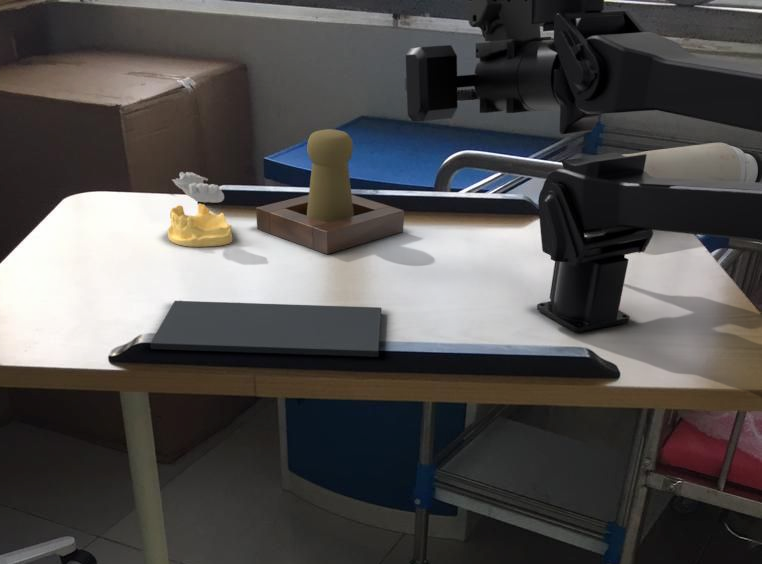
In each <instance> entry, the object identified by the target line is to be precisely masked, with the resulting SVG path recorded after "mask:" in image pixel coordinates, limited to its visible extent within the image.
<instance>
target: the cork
mask: <svg viewBox="0 0 762 564" xmlns="http://www.w3.org/2000/svg"><path fill="white" fill-rule="evenodd" d="M306 149H307V150H306V152H307V155H308V158H309V160H310V161H311V171H310V172H311V173H310V181H309V190H308V195H309V198H308V208H307V216H309V217H312V218H315V219H318V220H321V221H324V222H327V223H330V222H334V221H338V220H341V219H345V218H349V217H352V216H354V213H353V204H352V195H353V194H352V187H351V177H350V171H349V170H350V169H349V162H350V160H352V159H351V158H352V155H353V151H354V144H353V139H352V138H351V135H350V134H348V133H347V132H346V131H343V130H339V129H332V128H329V129H328V128H327V129H326V128H325V129H321V130H316V131H314V132H312V133H311V134H310V136H309V138H308V140H307V144H306Z"/></svg>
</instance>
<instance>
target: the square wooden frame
mask: <svg viewBox="0 0 762 564" xmlns="http://www.w3.org/2000/svg"><path fill="white" fill-rule="evenodd" d="M351 195H352V204H353V213H354V216H352V217H349V218H345V219H341V220H338V221H334V222H330V223H327V222H324V221H321V220H318V219H315V218H312V217H309V216H307V208H308V198H309V194H307V195H302V196H298V197H294V198H290V199H287V200H286V199H285V200H282V201H278V202H274V203H269V204H265V205H261V206H257V207H256V208H255V212H256V213H255V215H256V229H257V230H260V231H261V232H265V233H268V234H270V235H273V236H276V237H279V238H281V239H284V240H287V241H290V242H292V243H295V244H298V245H301V246H304V247H306V248H309V249H312V250H314V251H317V252H320V253H323V254H325V255H330V254H333V253H335V252H339V251H343V250H346V249H349V248H353V247H357V246H360V245H363V244H367V243H369V242H373V241H377V240H380V239H383V238H387V237H389V236H394V235H397V234H400V233H403V232H404V225H405V222H404V221H405V210H403V209H400V208H398V207H394V206H390V205H388V204H385V203H381V202H377V201H375V200H371V199H367V198H365V197H360V196H359V195H358V196H357V195H354V194H351Z"/></svg>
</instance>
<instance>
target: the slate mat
mask: <svg viewBox="0 0 762 564" xmlns="http://www.w3.org/2000/svg"><path fill="white" fill-rule="evenodd" d="M381 323H382V307H378V306H377V307H373V306H349V305H348V306H347V305H316V304H313V305H312V304H290V303H289V304H286V303H285V304H284V303H283V304H282V303H256V302H254V303H253V302H230V301H229V302H226V301H199V300H198V301H197V300H195V301H194V300H174V301H173V303H172V304H171V307H170V308H169V310H168V312H167V313H166V315H165V317H164V318H163V320H162V322H161V324H160V326H159V328H158V329H157V331H156V333H155V335H154V336H153V337H152V339H151V341H150V344H149V345H150V348H151V350H166V351H192V352H193V351H194V352H223V353H250V354H251V353H253V354H280V355H281V354H283V355H307V356H309V355H311V356H336V357H337V356H338V357H339V356H340V357H341V356H342V357H367V358H379V357H380V356H379V355H380V340H381Z"/></svg>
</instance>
